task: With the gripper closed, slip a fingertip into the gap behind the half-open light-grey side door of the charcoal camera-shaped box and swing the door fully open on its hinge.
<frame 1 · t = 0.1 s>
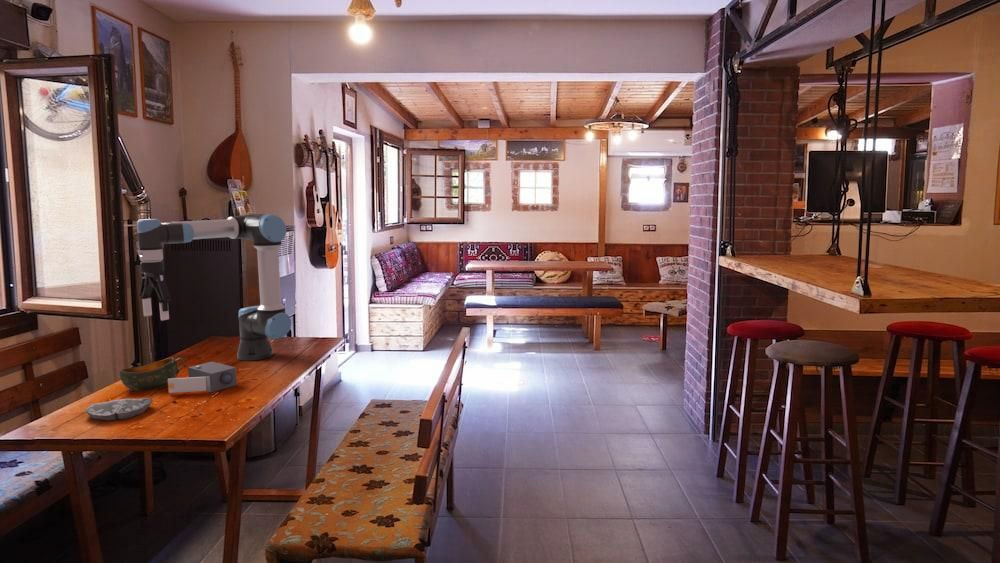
hand: (156, 317, 234), 28 cm above the table, fingers open, 13 cm apart
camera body: (213, 384, 244), on the table
cup: (154, 387, 242), on the table
door: (189, 385, 233), point 3 cm above the table, hinge at 45.0°
brain slice: (120, 415, 212), on the table
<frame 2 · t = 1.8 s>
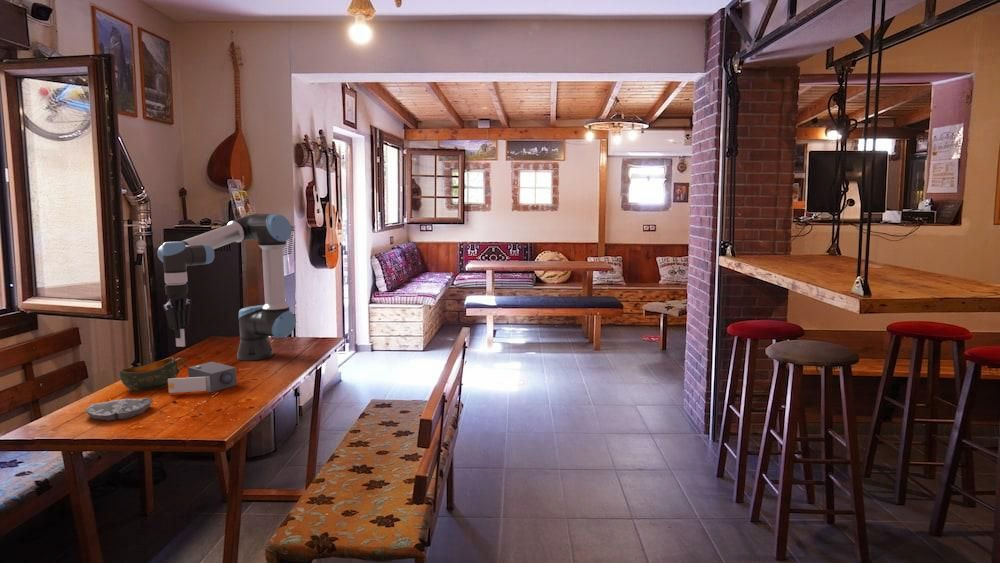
hand: (180, 346, 234), 17 cm above the table, fingers closed
nothing on the table moved.
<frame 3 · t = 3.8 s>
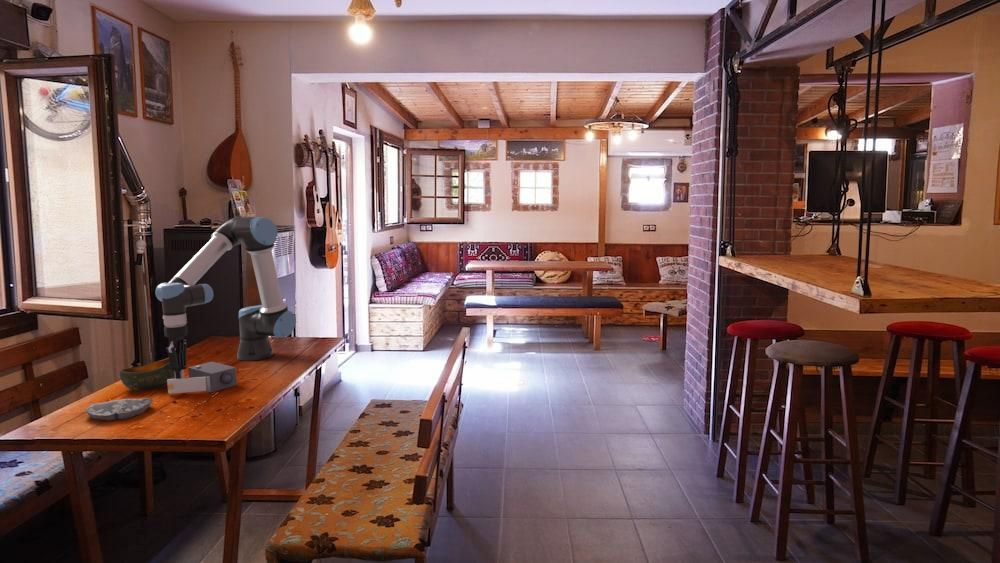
hand: (180, 387, 234), 2 cm above the table, fingers closed
door: (189, 385, 232), point 3 cm above the table, hinge at 48.7°, touching gripper
everything else where it was.
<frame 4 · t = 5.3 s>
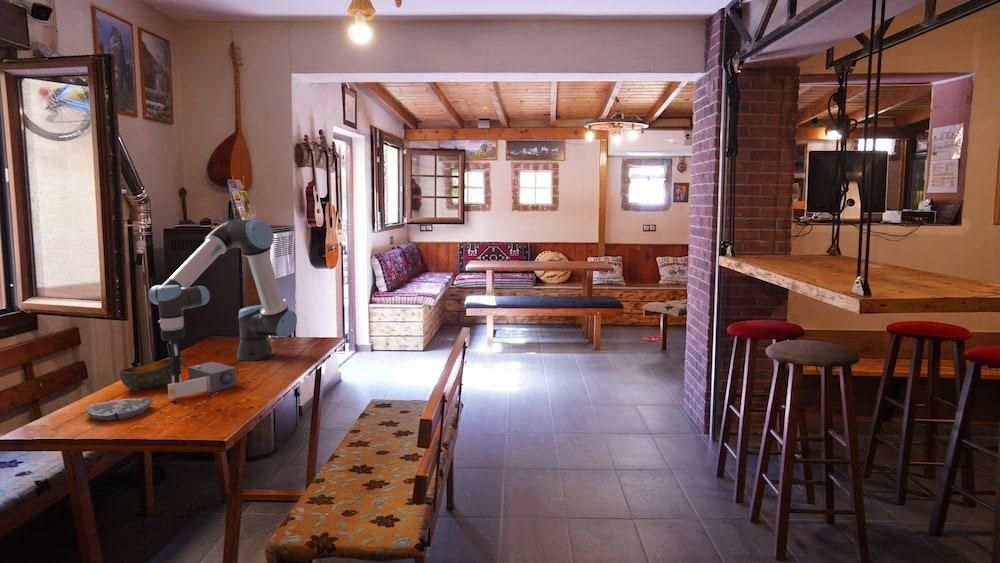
hand: (177, 391, 229), 2 cm above the table, fingers closed
door: (190, 388, 230), point 3 cm above the table, hinge at 78.4°, touching gripper
everything else where it was.
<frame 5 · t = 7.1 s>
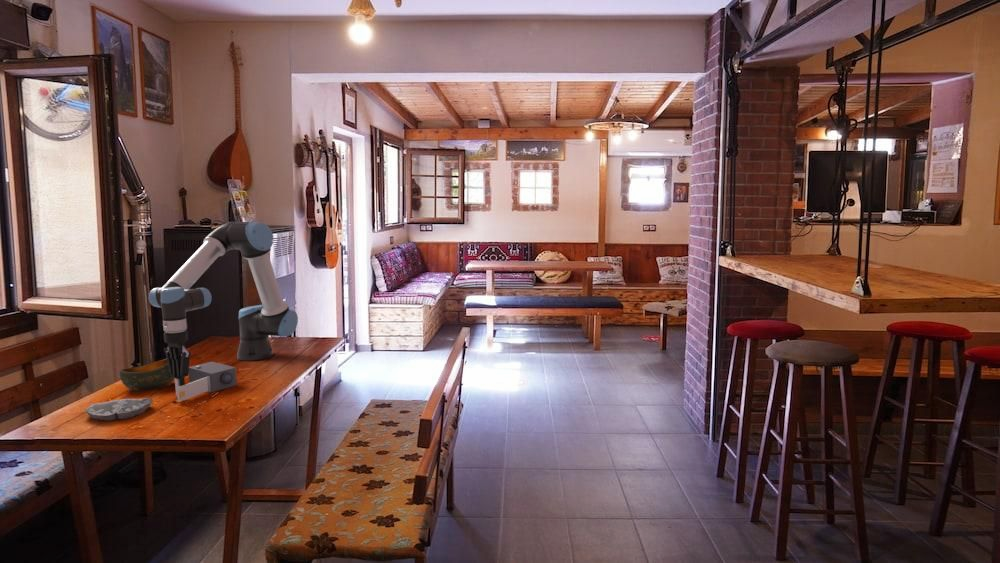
hand: (180, 394, 227), 2 cm above the table, fingers closed
door: (195, 389, 228), point 3 cm above the table, hinge at 104.1°
everything else where it was.
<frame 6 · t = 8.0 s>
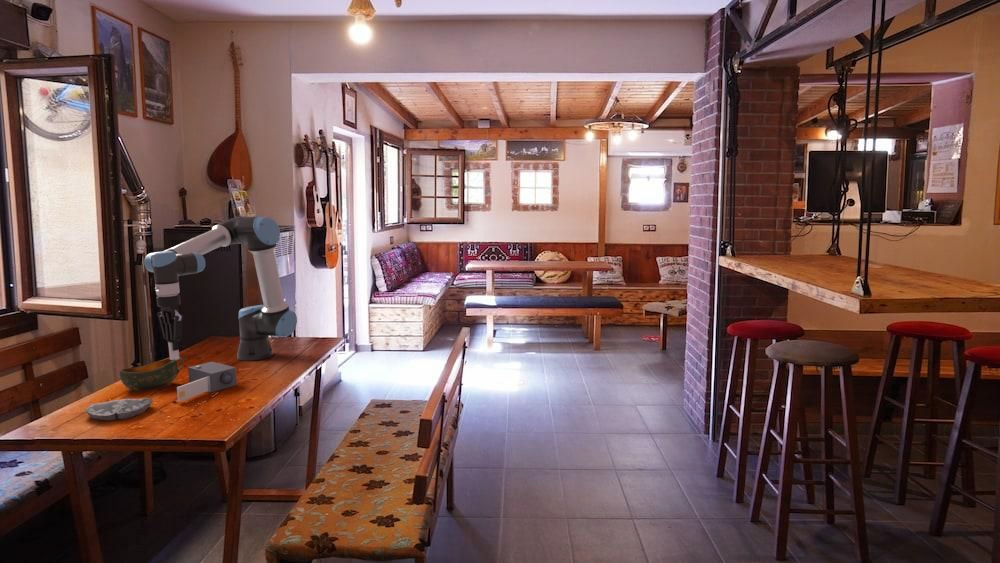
hand: (174, 358, 227), 14 cm above the table, fingers closed
nothing on the table moved.
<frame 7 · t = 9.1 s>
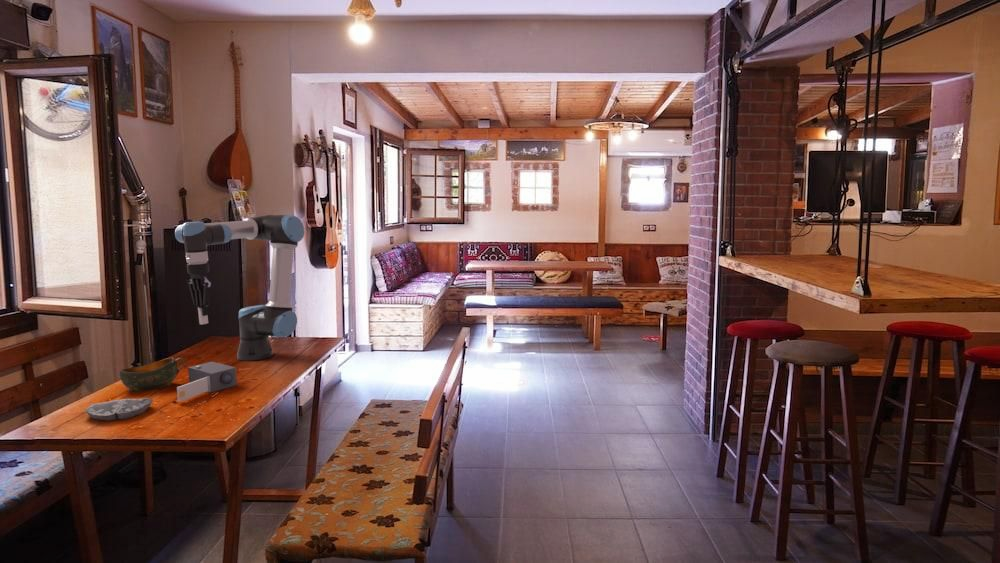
hand: (203, 323, 241), 24 cm above the table, fingers closed
nothing on the table moved.
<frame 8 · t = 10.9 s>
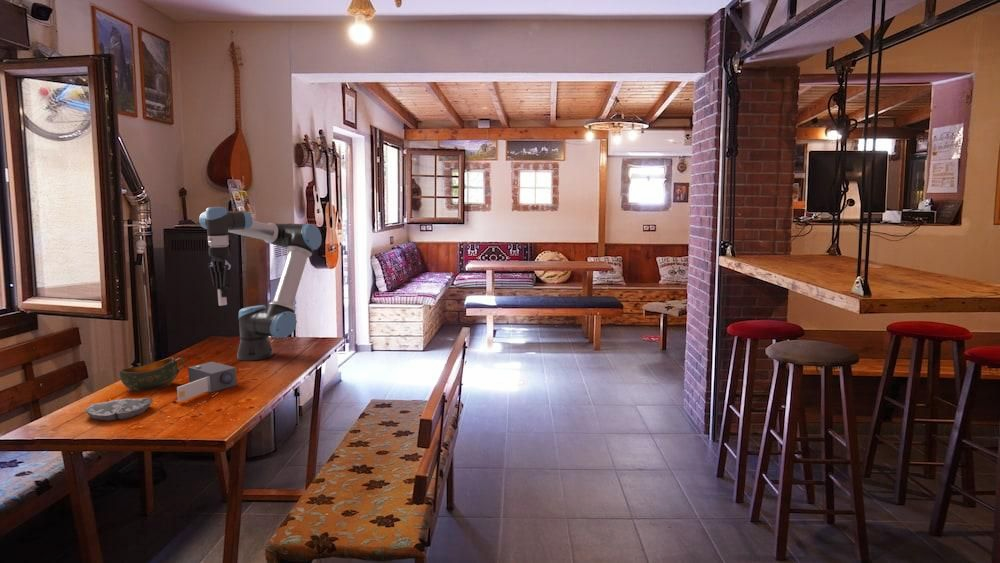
hand: (222, 305, 251), 29 cm above the table, fingers closed
nothing on the table moved.
at the end: door at +104° (first picture: +45°); door touching nothing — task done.
